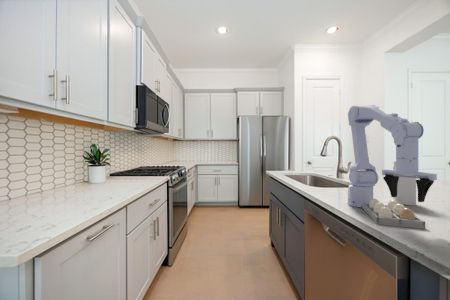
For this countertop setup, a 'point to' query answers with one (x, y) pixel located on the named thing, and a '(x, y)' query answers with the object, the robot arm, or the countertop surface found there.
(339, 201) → the countertop surface
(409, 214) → the brown egg
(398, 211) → the cream eggs
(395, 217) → the egg carton
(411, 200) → the milk carton
